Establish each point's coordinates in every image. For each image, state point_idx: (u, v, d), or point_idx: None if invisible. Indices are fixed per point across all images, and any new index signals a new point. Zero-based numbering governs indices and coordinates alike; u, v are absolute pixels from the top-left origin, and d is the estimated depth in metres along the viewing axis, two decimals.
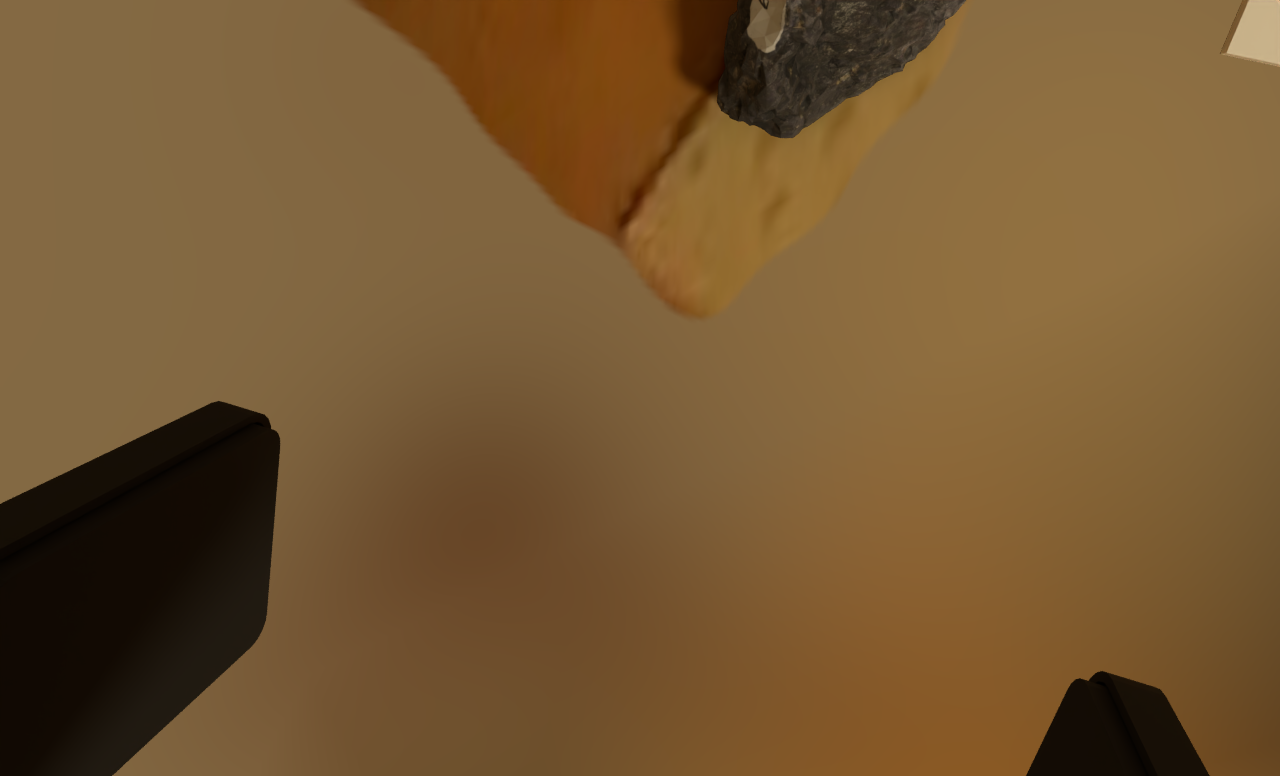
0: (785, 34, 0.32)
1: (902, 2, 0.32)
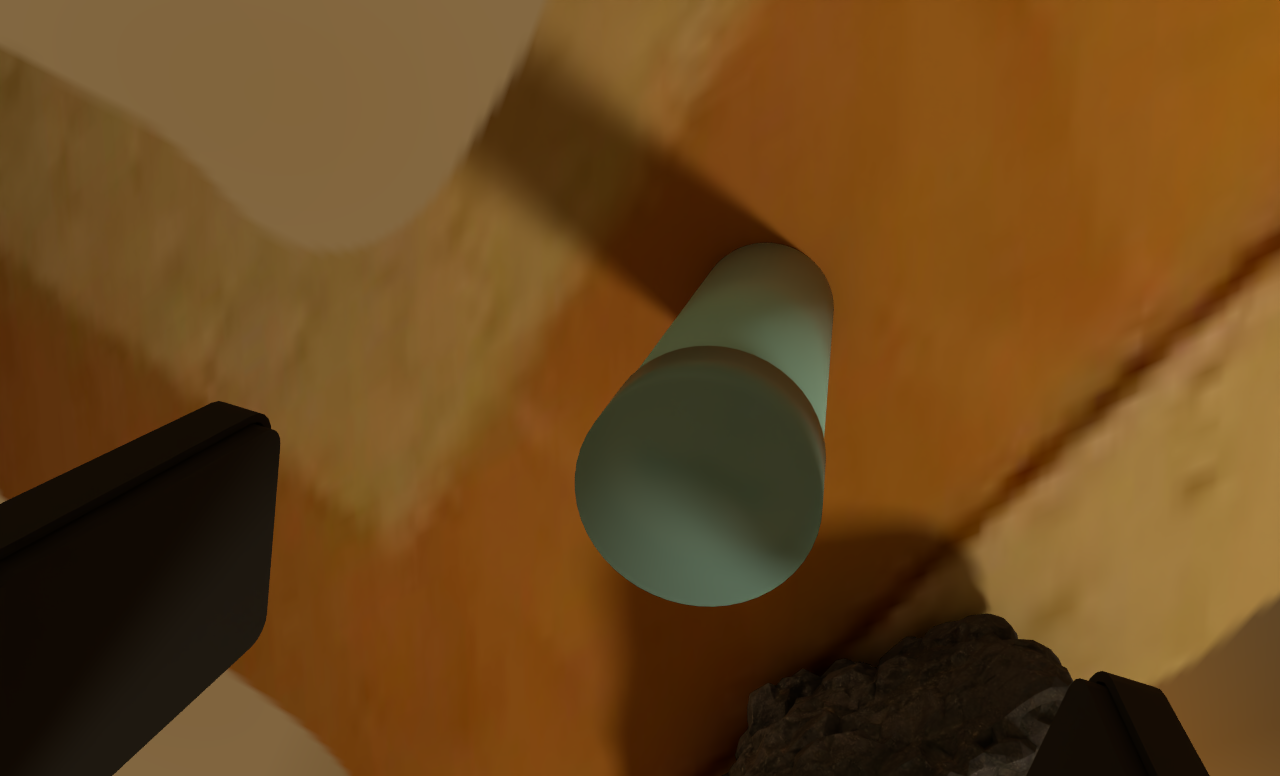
0: None
1: None
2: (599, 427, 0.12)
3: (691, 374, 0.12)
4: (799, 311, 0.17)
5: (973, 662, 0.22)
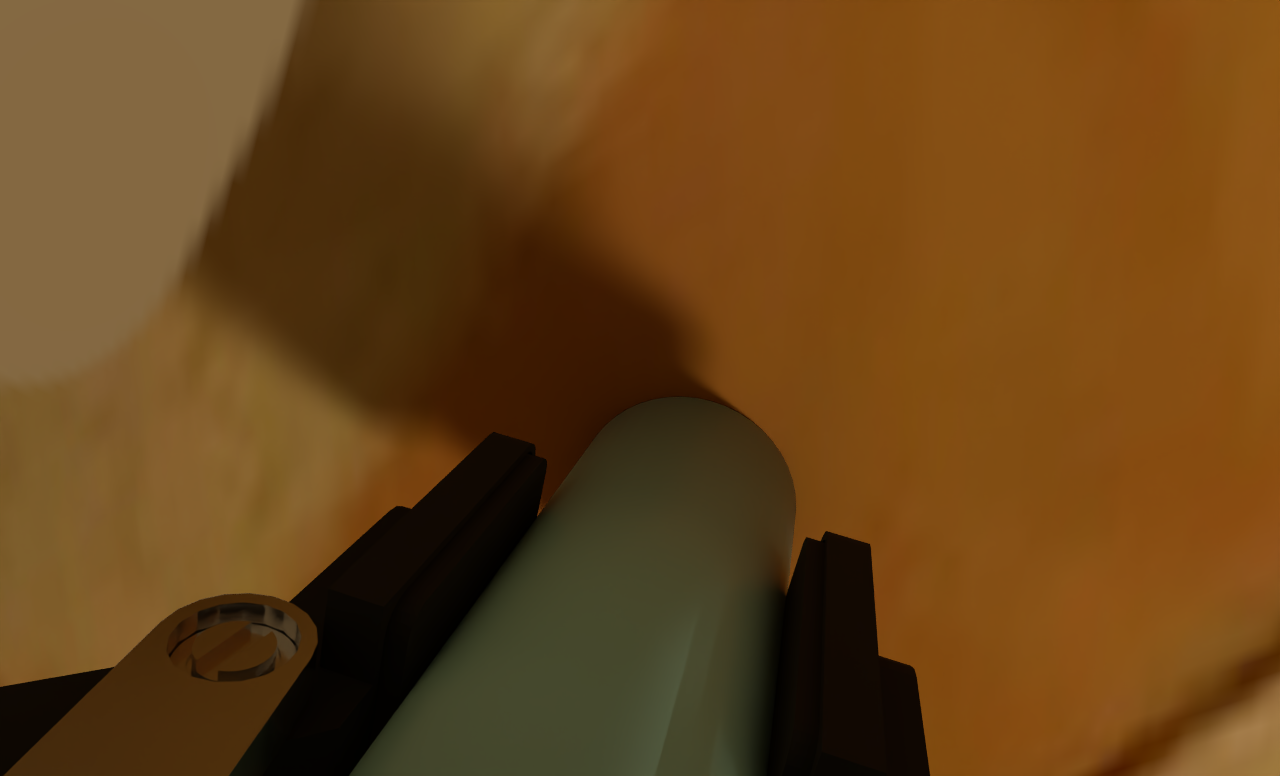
0: None
1: None
2: None
3: None
4: (707, 626, 0.08)
5: None
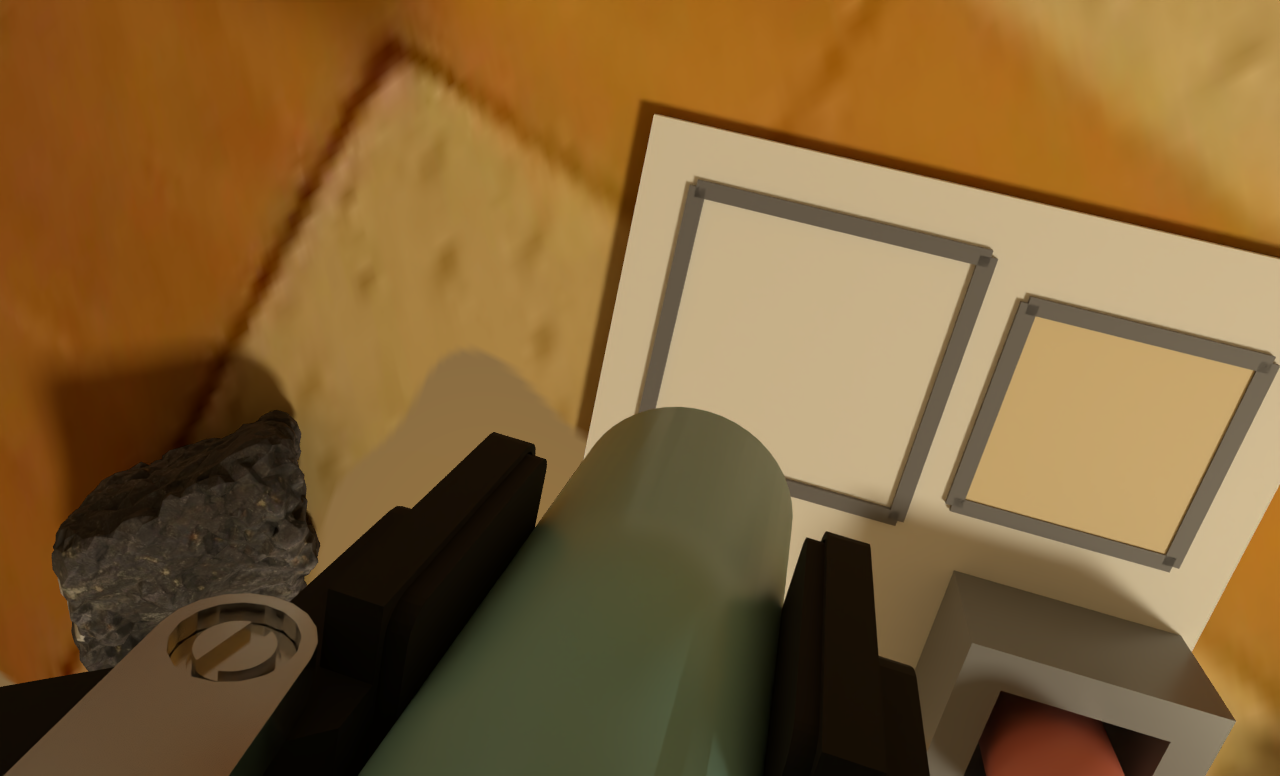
0: None
1: None
2: None
3: None
4: (702, 640, 0.08)
5: (235, 434, 0.30)
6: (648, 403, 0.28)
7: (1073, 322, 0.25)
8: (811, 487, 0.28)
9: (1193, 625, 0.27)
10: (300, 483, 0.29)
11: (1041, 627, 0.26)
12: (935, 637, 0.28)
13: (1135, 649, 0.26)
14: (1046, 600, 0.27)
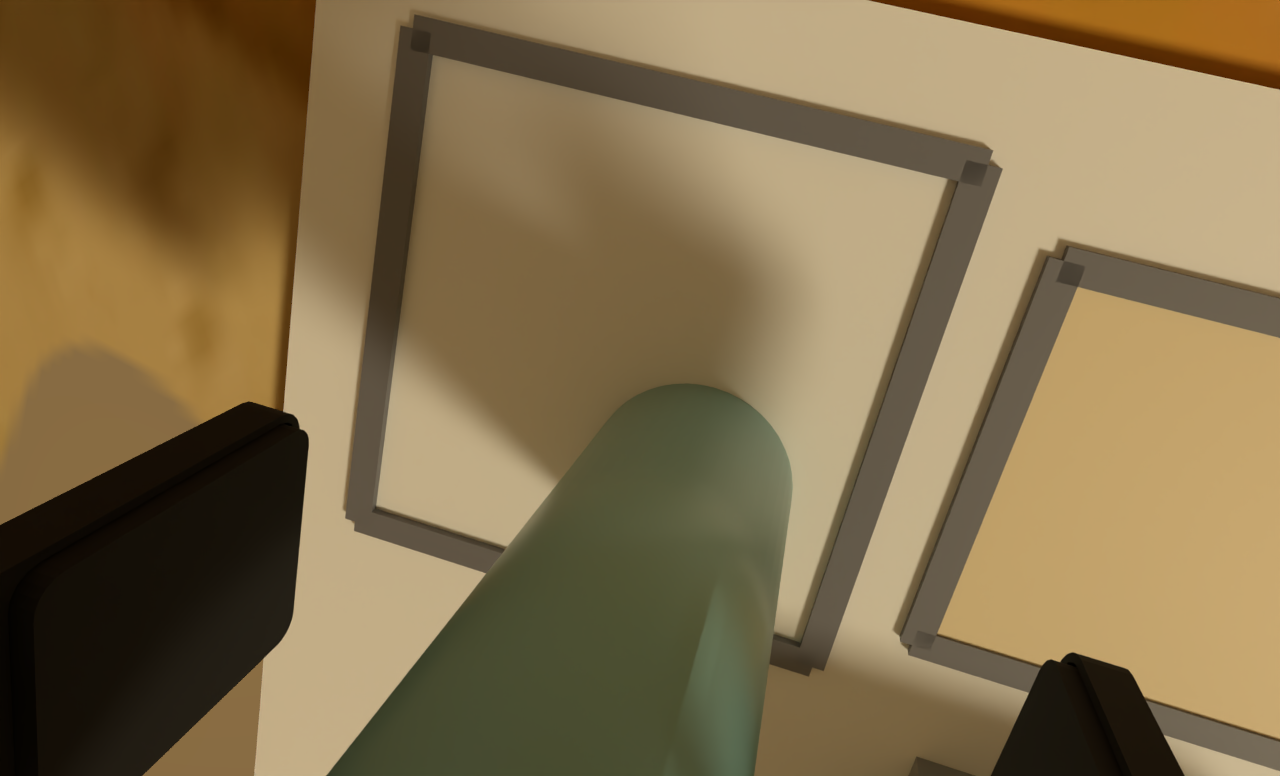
0: None
1: None
2: None
3: None
4: (709, 569, 0.09)
5: None
6: (366, 445, 0.16)
7: (1155, 299, 0.12)
8: None
9: None
10: None
11: None
12: None
13: None
14: None
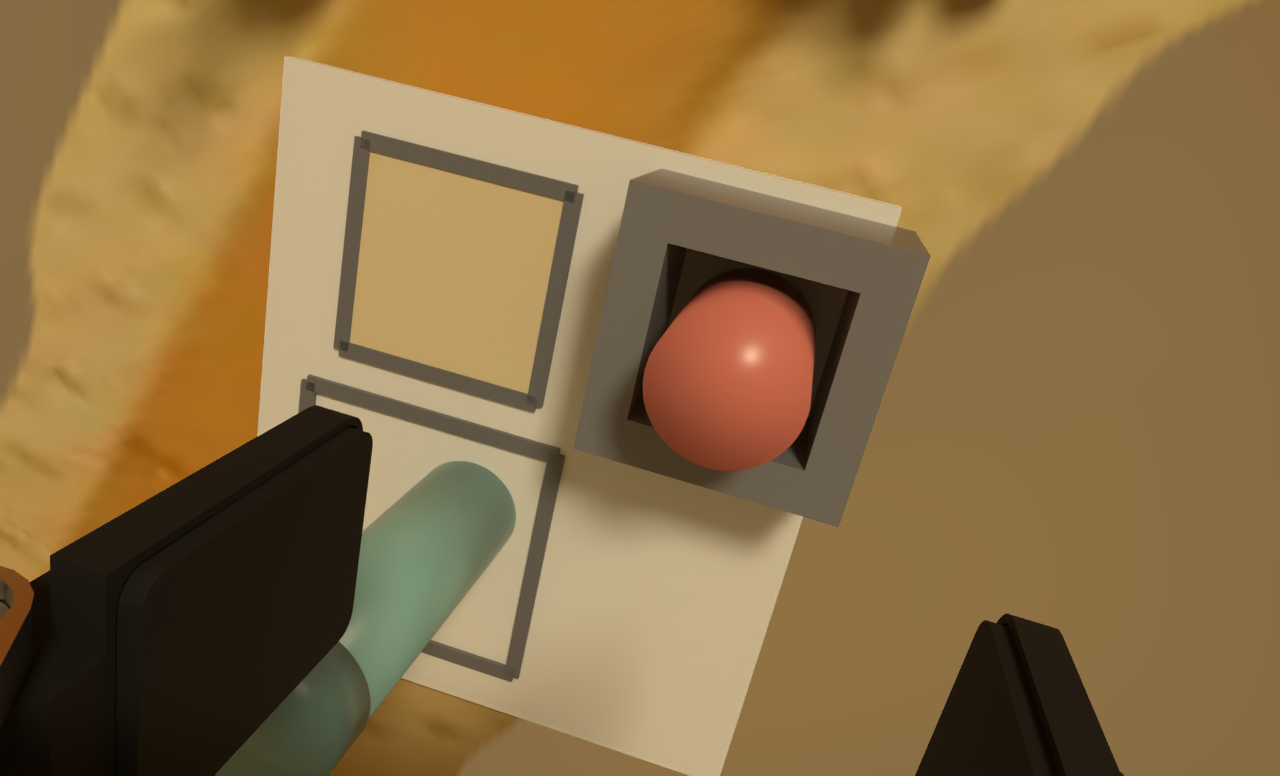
0: None
1: None
2: None
3: None
4: None
5: None
6: (469, 662, 0.30)
7: (349, 311, 0.27)
8: (536, 529, 0.28)
9: (647, 157, 0.24)
10: None
11: None
12: None
13: None
14: None
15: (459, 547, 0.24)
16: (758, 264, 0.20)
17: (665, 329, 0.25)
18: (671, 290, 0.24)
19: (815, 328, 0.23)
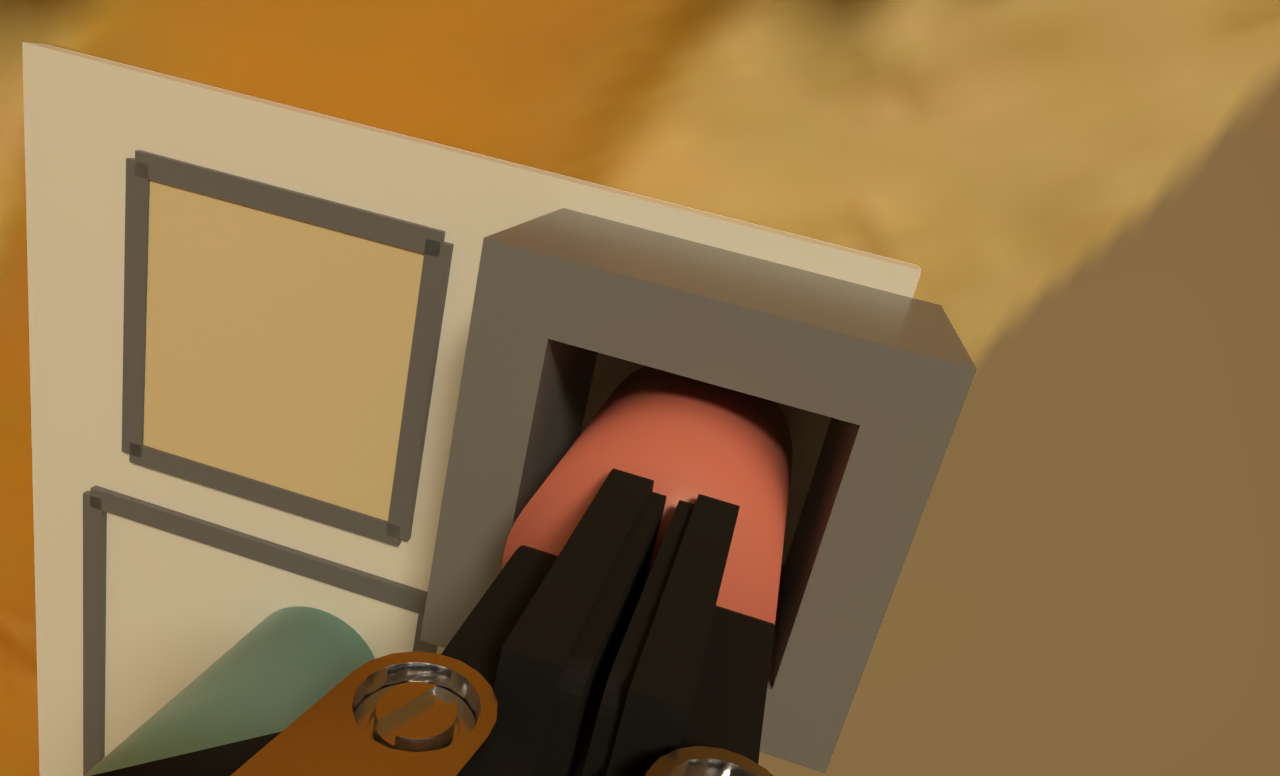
0: None
1: None
2: None
3: None
4: None
5: None
6: None
7: (139, 402, 0.19)
8: None
9: (542, 192, 0.16)
10: None
11: None
12: None
13: None
14: None
15: None
16: (693, 375, 0.12)
17: (573, 441, 0.17)
18: (576, 390, 0.16)
19: (791, 445, 0.15)
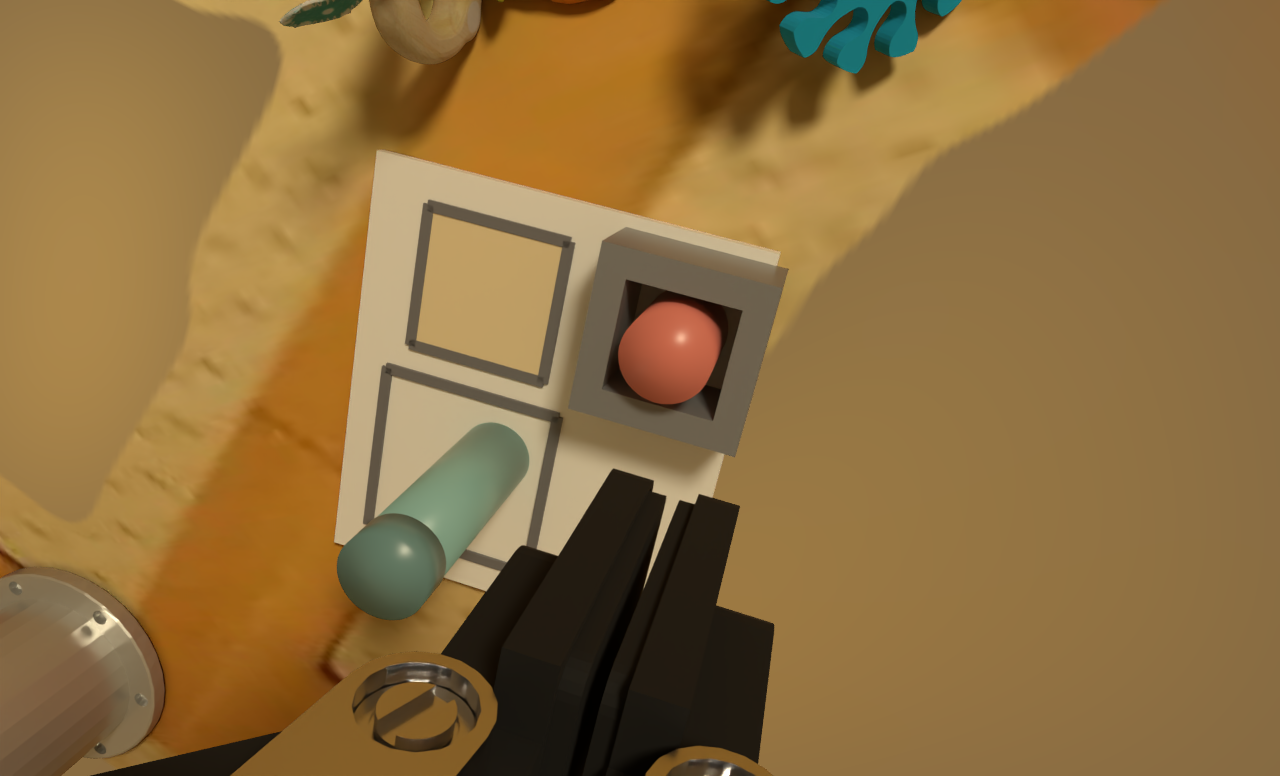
0: None
1: None
2: (363, 608, 0.32)
3: None
4: None
5: None
6: (496, 565, 0.43)
7: (417, 319, 0.40)
8: (543, 469, 0.41)
9: (616, 219, 0.37)
10: None
11: None
12: None
13: None
14: None
15: (493, 476, 0.37)
16: (680, 292, 0.33)
17: None
18: (632, 306, 0.36)
19: (727, 322, 0.37)
